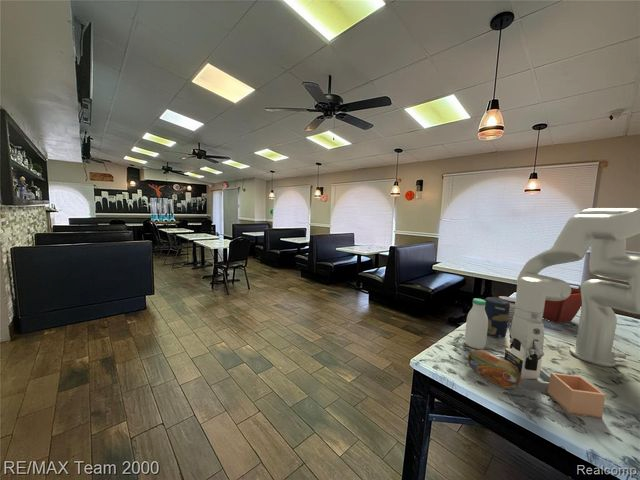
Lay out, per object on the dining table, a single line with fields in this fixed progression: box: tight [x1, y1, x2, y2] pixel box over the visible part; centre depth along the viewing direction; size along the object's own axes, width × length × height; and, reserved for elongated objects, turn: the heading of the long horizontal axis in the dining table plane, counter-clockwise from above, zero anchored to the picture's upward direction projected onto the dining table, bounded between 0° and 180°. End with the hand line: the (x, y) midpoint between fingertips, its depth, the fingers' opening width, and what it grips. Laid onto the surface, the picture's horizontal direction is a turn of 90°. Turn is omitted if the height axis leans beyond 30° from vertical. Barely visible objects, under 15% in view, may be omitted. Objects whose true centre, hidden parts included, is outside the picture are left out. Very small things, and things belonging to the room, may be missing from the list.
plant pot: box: [543, 288, 582, 324], centre depth 136 cm, size 19×19×17 cm
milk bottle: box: [464, 297, 488, 350], centre depth 104 cm, size 8×8×20 cm
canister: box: [484, 296, 510, 339], centre depth 114 cm, size 10×10×18 cm
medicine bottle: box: [504, 338, 543, 379], centre depth 85 cm, size 7×7×12 cm
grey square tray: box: [494, 354, 550, 392], centre depth 86 cm, size 14×14×2 cm
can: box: [498, 295, 516, 325], centre depth 132 cm, size 11×11×12 cm
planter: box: [547, 372, 606, 419], centre depth 72 cm, size 8×8×7 cm
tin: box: [467, 349, 521, 390], centre depth 83 cm, size 15×3×8 cm, turn 32°
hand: (522, 361), depth 86 cm, fingers closed on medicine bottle, 8 cm apart
